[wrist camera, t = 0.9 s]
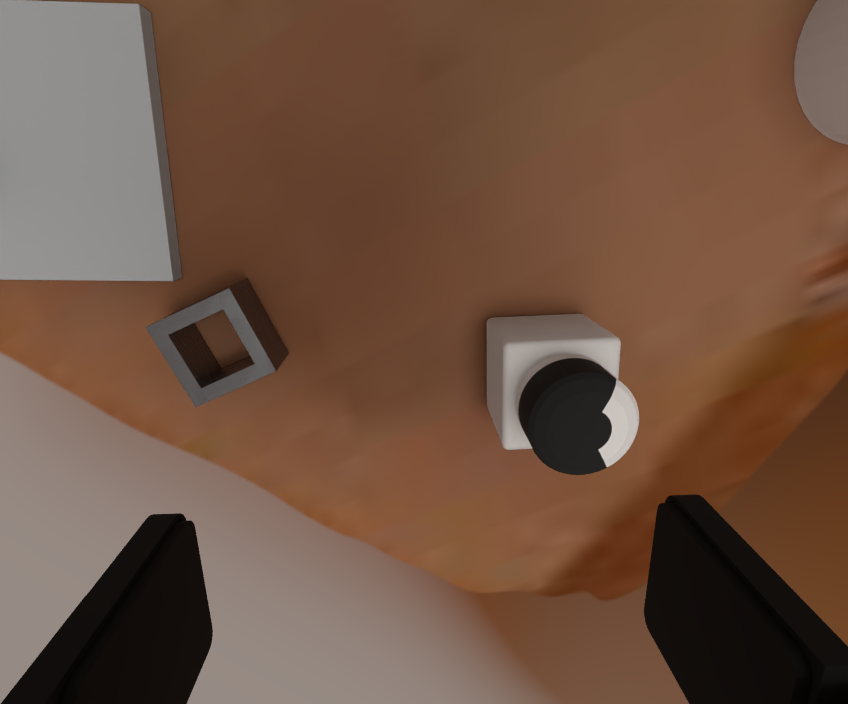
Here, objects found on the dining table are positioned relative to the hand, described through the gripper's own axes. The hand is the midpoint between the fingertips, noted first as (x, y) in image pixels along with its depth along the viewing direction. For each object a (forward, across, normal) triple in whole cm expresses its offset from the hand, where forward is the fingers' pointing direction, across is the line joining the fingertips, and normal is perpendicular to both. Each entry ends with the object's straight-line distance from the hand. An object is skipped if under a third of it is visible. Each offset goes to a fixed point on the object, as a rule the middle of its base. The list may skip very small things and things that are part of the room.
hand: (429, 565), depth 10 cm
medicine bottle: (+28, -9, +5) cm, 30 cm away
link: (+28, +13, +2) cm, 31 cm away
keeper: (+28, +24, -10) cm, 38 cm away
